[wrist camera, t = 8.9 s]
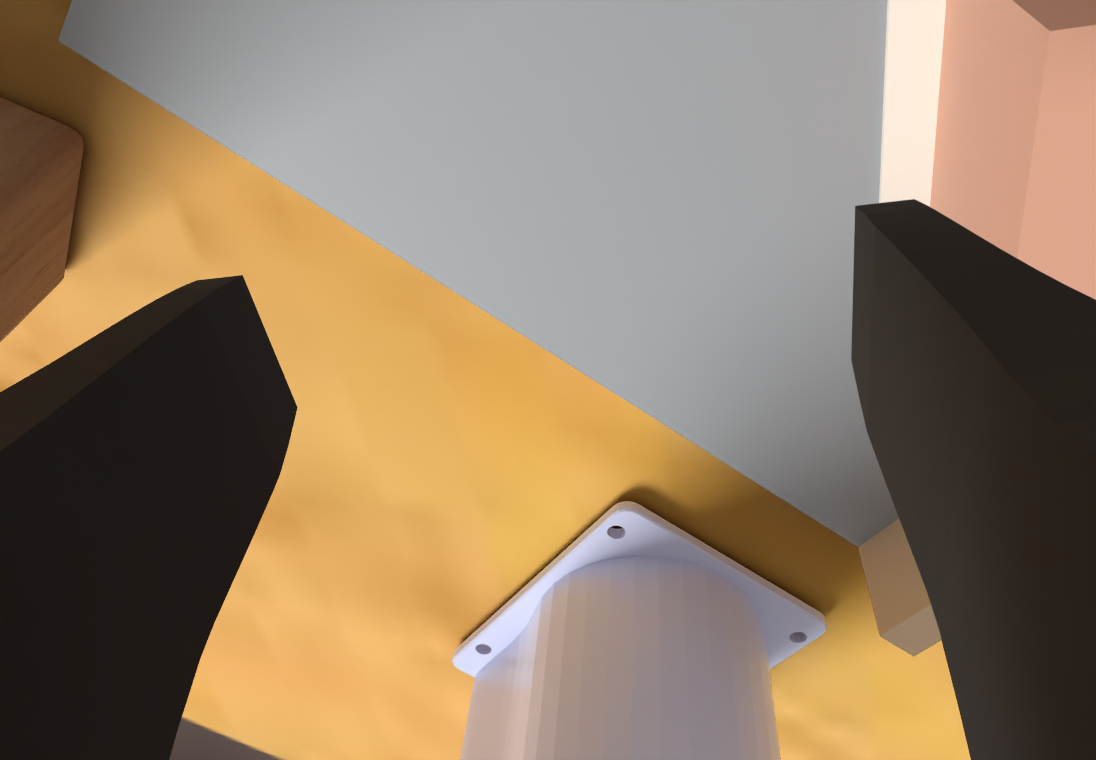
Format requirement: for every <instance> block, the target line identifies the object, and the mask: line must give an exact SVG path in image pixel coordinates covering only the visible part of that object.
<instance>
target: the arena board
mask: <svg viewBox="0 0 1096 760" xmlns="http://www.w3.org/2000/svg"><path fill="white" fill-rule="evenodd" d="M887 1H888V0H72V2H71V5H70V8H69V10H68V13H67V16H66V19H65V21H64V24H63V27H62V30H61V33H60V35H59V38H58V41H59V42H60V43H62V44H64V45H65V46H67V47H68V48H70V49H72V50H73V51H75V52H76V53H78V54H79V55H81V56H83V57H84V58H86V59H87V60H89V61H90V62H92V63H94V64H95V65H97V66H98V67H100V68H102V69H103V70H105V71H106V72H108V73H109V74H111V75H113V76H114V77H116V78H117V79H119V80H120V81H122V82H124V83H125V84H127V85H128V86H130V87H132V88H133V89H135V90H136V91H138V92H139V93H141V94H143V95H144V96H146V97H147V98H149V99H151V100H152V101H154V102H155V103H157V104H158V105H160V106H162V107H163V108H165V109H166V110H168V111H169V112H171V113H173V114H174V115H176V116H177V117H179V118H181V119H182V120H184V121H185V122H187V123H188V124H190V125H192V126H193V127H195V128H196V129H198V130H199V131H201V132H203V133H204V134H206V135H207V136H209V137H211V138H212V139H214V140H215V141H217V142H218V143H220V144H222V145H223V146H225V147H226V148H228V149H229V150H231V151H233V152H234V153H236V154H237V155H239V156H241V157H242V158H244V159H245V160H247V161H248V162H250V163H252V164H253V165H255V166H256V167H258V168H259V169H261V170H263V171H264V172H266V173H267V174H269V175H271V176H272V177H274V178H275V179H277V180H278V181H280V182H282V183H283V184H285V185H286V186H288V187H290V188H291V189H293V190H294V191H296V192H297V193H299V194H301V195H302V196H304V197H305V198H307V199H308V200H310V201H312V202H313V203H315V204H316V205H318V206H320V207H321V208H323V209H324V210H326V211H327V212H329V213H331V214H332V215H334V216H335V217H337V218H338V219H340V220H342V221H343V222H345V223H346V224H348V225H350V226H351V227H353V228H354V229H356V230H357V231H359V232H361V233H362V234H364V235H365V236H367V237H368V238H370V239H372V240H373V241H375V242H376V243H378V244H380V245H381V246H383V247H384V248H386V249H387V250H389V251H391V252H392V253H394V254H395V255H397V256H398V257H400V258H402V259H403V260H405V261H406V262H408V263H410V264H411V265H413V266H414V267H416V268H417V269H419V270H421V271H422V272H424V273H425V274H427V275H429V276H430V277H432V278H433V279H435V280H436V281H438V282H440V283H441V284H443V285H444V286H446V287H447V288H449V289H451V290H452V291H454V292H455V293H457V294H459V295H460V296H462V297H463V298H465V299H466V300H468V301H470V302H471V303H473V304H474V305H476V306H477V307H479V308H481V309H482V310H484V311H485V312H487V313H489V314H490V315H492V316H493V317H495V318H496V319H498V320H500V321H501V322H503V323H504V324H506V325H507V326H509V327H511V328H512V329H514V330H515V331H517V332H519V333H520V334H522V335H523V336H525V337H526V338H528V339H530V340H531V341H533V342H534V343H536V344H537V345H539V346H541V347H542V348H544V349H545V350H547V351H549V352H550V353H552V354H553V355H555V356H556V357H558V358H560V359H561V360H563V361H564V362H566V363H568V364H569V365H571V366H572V367H574V368H575V369H577V370H579V371H580V372H582V373H583V374H585V375H586V376H588V377H590V378H591V379H593V380H594V381H596V382H598V383H599V384H601V385H602V386H604V387H605V388H607V389H609V390H610V391H612V392H613V393H615V394H616V395H618V396H620V397H621V398H623V399H624V400H626V401H628V402H629V403H631V404H632V405H634V406H635V407H637V408H639V409H640V410H642V411H643V412H645V413H646V414H648V415H650V416H651V417H653V418H654V419H656V420H658V421H659V422H661V423H662V424H664V425H665V426H667V427H669V428H670V429H672V430H673V431H675V432H676V433H678V434H680V435H681V436H683V437H684V438H686V439H688V440H689V441H691V442H692V443H694V444H695V445H697V446H699V447H700V448H702V449H703V450H705V451H707V452H708V453H710V454H711V455H713V456H714V457H716V458H718V459H719V460H721V461H722V462H724V463H725V464H727V465H729V466H730V467H732V468H733V469H735V470H737V471H738V472H740V473H741V474H743V475H744V476H746V477H748V478H749V479H751V480H752V481H754V482H755V483H757V484H759V485H760V486H762V487H763V488H765V489H767V490H768V491H770V492H771V493H773V494H774V495H776V496H778V497H779V498H781V499H782V500H784V501H785V502H787V503H789V504H790V505H792V506H793V507H795V508H797V509H798V510H800V511H801V512H803V513H804V514H806V515H808V516H809V517H811V518H812V519H814V520H816V521H817V522H819V523H820V524H822V525H823V526H825V527H827V528H828V529H830V530H831V531H833V532H834V533H836V534H838V535H839V536H841V537H842V538H844V539H846V540H847V541H849V542H850V543H852V544H853V545H855V546H857V547H858V550H859V554H860V558H861V562H862V566H863V570H864V574H865V578H866V582H867V586H868V590H869V594H870V598H871V602H872V606H873V610H874V614H875V618H876V622H877V626H878V630H879V634H880V636H881V637H882V638H884V639H886V640H887V641H889V642H891V643H892V644H894V645H896V646H897V647H899V648H901V649H902V650H904V651H906V652H907V653H909V654H911V655H912V656H915V655H917V654H919V653H920V652H922V651H924V650H925V649H927V648H929V647H930V646H932V645H934V644H936V643H937V642H939V641H941V640H942V639H941V635H940V632H939V628H938V625H937V622H936V619H935V615H934V612H933V609H932V606H931V603H930V600H929V597H928V594H927V591H926V588H925V585H924V583H923V580H922V578H921V575H920V572H919V570H918V567H917V564H916V562H915V559H914V556H913V554H912V551H911V548H910V546H909V543H908V540H907V538H906V535H905V533H904V530H903V527H902V525H901V522H900V519H899V517H898V514H897V511H896V509H895V506H894V503H893V501H892V498H891V496H890V493H889V490H888V488H887V485H886V482H885V480H884V477H883V474H882V471H881V469H880V466H879V463H878V461H877V458H876V455H875V453H874V450H873V447H872V444H871V442H870V439H869V436H868V433H867V430H866V426H865V421H864V417H863V412H862V408H861V404H860V399H859V394H858V390H857V385H856V380H855V375H854V371H853V366H852V361H851V350H852V311H853V272H854V232H855V206H858V205H867V204H876V203H879V192H880V169H881V145H882V121H883V97H884V73H885V49H886V25H887Z"/></svg>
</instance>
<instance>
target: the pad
mask: <svg viewBox="0 0 1096 760" xmlns="http://www.w3.org/2000/svg"><path fill="white" fill-rule="evenodd" d="M945 11H946V0H888V1H887V25H886V49H885V73H884V97H883V121H882V145H881V169H880V192H879V203H885V202H893V201H902V200H911V199H915V200H917V201H919V202H921V203H924V204H925V205H927V206H929V207H930V201H931V188H932V175H933V163H934V150H935V137H936V125H937V112H938V100H939V87H940V74H941V62H942V49H943V36H944V24H945Z"/></svg>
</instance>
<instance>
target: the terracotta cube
mask: <svg viewBox="0 0 1096 760" xmlns="http://www.w3.org/2000/svg"><path fill="white" fill-rule="evenodd" d="M930 207H931V208H933V209H935V210H936V211H938V212H940V213H941V214H943V215H945V216H946V217H948V218H950V219H952V220H953V221H955V222H956V223H958V224H960V225H961V226H963V227H965V228H966V229H968V230H970V231H971V232H973V233H975V234H976V235H978V236H980V237H981V238H983V239H985V240H986V241H988V242H990V243H991V244H993V245H995V246H997V247H998V248H1000V249H1002V250H1003V251H1005V252H1007V253H1008V254H1010V255H1012V256H1014V257H1015V258H1017V259H1019V260H1021V261H1022V262H1024V263H1026V264H1028V265H1030V266H1031V267H1033V268H1035V269H1037V270H1039V271H1040V272H1042V273H1044V274H1046V275H1048V276H1050V277H1052V278H1054V279H1055V280H1057V281H1059V282H1061V283H1063V284H1065V285H1067V286H1069V287H1071V288H1073V289H1075V290H1077V291H1079V292H1081V293H1083V294H1085V295H1087V296H1089V297H1091V298H1093V299H1095V300H1096V0H946V11H945V24H944V36H943V49H942V62H941V74H940V87H939V100H938V112H937V125H936V137H935V150H934V163H933V175H932V188H931V201H930Z"/></svg>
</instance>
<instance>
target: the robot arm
mask: <svg viewBox="0 0 1096 760" xmlns="http://www.w3.org/2000/svg"><path fill="white" fill-rule="evenodd" d="M851 361H852V366H853V371H854V375H855V380H856V385H857V390H858V394H859V399H860V404H861V408H862V412H863V417H864V421H865V426H866V430H867V433H868V436H869V439H870V442H871V444H872V447H873V450H874V453H875V455H876V458H877V461H878V463H879V466H880V469H881V471H882V474H883V477H884V480H885V482H886V485H887V488H888V490H889V493H890V496H891V498H892V501H893V503H894V506H895V509H896V511H897V514H898V517H899V519H900V522H901V525H902V527H903V530H904V533H905V535H906V538H907V540H908V543H909V546H910V548H911V551H912V554H913V556H914V559H915V562H916V564H917V567H918V570H919V572H920V575H921V578H922V580H923V583H924V585H925V588H926V591H927V594H928V597H929V600H930V603H931V606H932V609H933V612H934V615H935V619H936V622H937V625H938V628H939V632H940V635H941V639H942V643H943V647H944V651H945V655H946V659H947V663H948V667H949V671H950V675H951V679H952V683H953V687H954V691H955V695H956V699H957V703H958V707H959V711H960V715H961V719H962V723H963V727H964V732H965V736H966V740H967V744H968V748H969V753H970V757H971V760H1096V300H1095V299H1093V298H1091V297H1089V296H1087V295H1085V294H1083V293H1081V292H1079V291H1077V290H1075V289H1073V288H1071V287H1069V286H1067V285H1065V284H1063V283H1061V282H1059V281H1057V280H1055V279H1054V278H1052V277H1050V276H1048V275H1046V274H1044V273H1042V272H1040V271H1039V270H1037V269H1035V268H1033V267H1031V266H1030V265H1028V264H1026V263H1024V262H1022V261H1021V260H1019V259H1017V258H1015V257H1014V256H1012V255H1010V254H1008V253H1007V252H1005V251H1003V250H1002V249H1000V248H998V247H997V246H995V245H993V244H991V243H990V242H988V241H986V240H985V239H983V238H981V237H980V236H978V235H976V234H975V233H973V232H971V231H970V230H968V229H966V228H965V227H963V226H961V225H960V224H958V223H956V222H955V221H953V220H952V219H950V218H948V217H946V216H945V215H943V214H941V213H940V212H938V211H936V210H935V209H933V208H931V207H929V206H927V205H925V204H924V203H921V202H919V201H917V200H915V199H911V200H902V201H893V202H885V203H876V204H867V205H858V206H855V232H854V272H853V311H852V350H851ZM296 411H297V406H296V403H295V401H294V398H293V396H292V393H291V391H290V389H289V386H288V384H287V381H286V379H285V377H284V374H283V372H282V369H281V367H280V365H279V362H278V360H277V357H276V355H275V352H274V350H273V348H272V345H271V343H270V340H269V338H268V336H267V333H266V331H265V328H264V326H263V324H262V321H261V319H260V316H259V314H258V311H257V309H256V307H255V304H254V302H253V299H252V297H251V295H250V292H249V290H248V287H247V285H246V283H245V280H244V278H243V275H241V276H232V277H224V278H215V279H206V280H197V281H195V282H192V283H190V284H187V285H185V286H183V287H180V288H178V289H176V290H174V291H172V292H170V293H168V294H166V295H164V296H162V297H161V298H159V299H157V300H155V301H153V302H152V303H150V304H148V305H146V306H144V307H143V308H141V309H139V310H138V311H136V312H134V313H132V314H131V315H129V316H127V317H126V318H124V319H122V320H121V321H119V322H118V323H116V324H114V325H113V326H111V327H109V328H108V329H106V330H104V331H103V332H101V333H99V334H98V335H96V336H95V337H93V338H91V339H90V340H88V341H86V342H85V343H83V344H81V345H80V346H78V347H77V348H75V349H73V350H72V351H70V352H68V353H67V354H65V355H63V356H62V357H60V358H59V359H57V360H55V361H54V362H52V363H50V364H49V365H47V366H45V367H44V368H42V369H40V370H38V371H37V372H35V373H33V374H31V375H30V376H28V377H26V378H24V379H23V380H21V381H19V382H18V383H16V384H14V385H12V386H11V387H9V388H7V389H5V390H4V391H2V392H0V760H169V759H170V755H171V751H172V748H173V744H174V740H175V737H176V733H177V730H178V727H179V724H180V721H181V717H182V714H183V711H184V708H185V705H186V702H187V699H188V695H189V692H190V689H191V686H192V683H193V680H194V676H195V673H196V670H197V667H198V664H199V661H200V658H201V655H202V653H203V650H204V648H205V645H206V642H207V640H208V637H209V635H210V632H211V630H212V627H213V625H214V622H215V620H216V618H217V616H218V613H219V611H220V609H221V607H222V605H223V602H224V600H225V598H226V596H227V593H228V591H229V589H230V587H231V584H232V582H233V580H234V578H235V576H236V573H237V571H238V569H239V567H240V564H241V562H242V560H243V558H244V556H245V553H246V551H247V549H248V547H249V545H250V542H251V540H252V538H253V536H254V533H255V531H256V529H257V527H258V524H259V522H260V520H261V518H262V515H263V513H264V511H265V508H266V506H267V504H268V501H269V499H270V497H271V495H272V492H273V490H274V487H275V485H276V483H277V480H278V478H279V475H280V472H281V469H282V465H283V462H284V458H285V455H286V451H287V448H288V444H289V440H290V436H291V432H292V428H293V424H294V419H295V415H296ZM612 526H620V527H622V528H620V529H615V528H611V527H612ZM826 628H827V626H826V621H825V617H824V615H823V614H822V613H821V612H819V611H817V610H816V609H814V608H812V607H811V606H809V605H807V604H806V603H804V602H802V601H801V600H799V599H797V598H796V597H794V596H792V595H791V594H789V593H787V592H786V591H784V590H782V589H780V588H779V587H777V586H775V585H774V584H772V583H770V582H769V581H767V580H765V579H764V578H762V577H760V576H759V575H757V574H755V573H754V572H752V571H750V570H749V569H747V568H745V567H744V566H742V565H740V564H738V563H737V562H735V561H733V560H732V559H730V558H728V557H727V556H725V555H723V554H722V553H720V552H718V551H717V550H715V549H713V548H712V547H710V546H708V545H707V544H705V543H703V542H702V541H700V540H698V539H696V538H695V537H693V536H691V535H690V534H688V533H686V532H685V531H683V530H681V529H680V528H678V527H676V526H675V525H673V524H671V523H670V522H668V521H666V520H665V519H663V518H661V517H660V516H658V515H656V514H654V513H653V512H651V511H649V510H648V509H646V508H644V507H643V506H641V505H639V504H637V503H635V502H631V501H623V502H619V503H617V504H615V505H614V506H613V507H612V508H610V509H609V510H608V511H607V512H606V513H605V514H604V515H603V516H602V517H601V518H599V519H598V520H597V521H596V522H595V523H594V524H593V525H592V526H591V527H589V528H588V529H587V530H586V531H585V532H584V533H583V534H582V535H581V536H580V537H578V538H577V539H576V540H575V541H574V542H573V543H572V544H571V545H570V546H569V547H567V548H566V549H565V550H564V551H563V552H562V553H561V554H560V555H559V556H557V557H556V558H555V559H554V560H553V561H552V562H551V563H550V564H549V565H548V566H546V567H545V568H544V569H543V570H542V571H541V572H540V573H539V574H538V575H537V576H535V577H534V578H533V579H532V580H531V581H530V582H529V583H528V584H527V585H526V586H524V587H523V588H522V589H521V590H520V591H519V592H518V593H517V594H516V595H514V596H513V597H512V598H511V599H510V600H509V601H508V602H507V603H506V604H505V605H503V606H502V607H501V608H500V609H499V610H498V611H497V612H496V613H495V614H494V615H492V616H491V617H490V618H489V619H488V620H487V621H486V622H485V623H484V624H483V625H481V626H480V627H479V628H478V629H477V630H476V631H475V632H474V633H473V634H471V635H470V636H469V637H468V638H467V639H466V640H465V641H464V642H463V643H462V644H460V645H459V646H458V647H457V648H456V649H455V651H454V654H453V664H454V666H455V667H456V668H458V669H459V670H461V671H463V672H465V673H467V674H469V675H471V676H473V677H475V678H474V684H473V690H472V695H471V701H470V707H469V712H468V718H467V724H466V729H465V735H464V740H463V746H462V752H461V757H460V760H781V758H780V750H779V742H778V734H777V727H776V719H775V711H774V703H773V695H772V687H771V679H770V671H769V670H770V669H771V668H773V667H774V666H776V665H777V664H779V663H780V662H782V661H783V660H785V659H786V658H788V657H790V656H791V655H793V654H794V653H796V652H797V651H799V650H800V649H802V648H803V647H805V646H806V645H808V644H809V643H811V642H812V641H814V640H815V639H817V638H818V637H820V636H821V635H823V634H824V633H825V632H826Z"/></svg>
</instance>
